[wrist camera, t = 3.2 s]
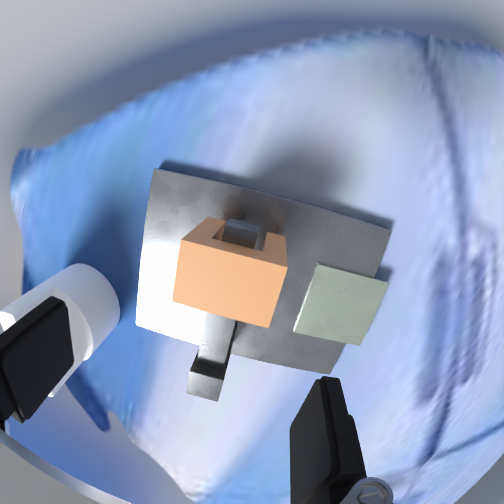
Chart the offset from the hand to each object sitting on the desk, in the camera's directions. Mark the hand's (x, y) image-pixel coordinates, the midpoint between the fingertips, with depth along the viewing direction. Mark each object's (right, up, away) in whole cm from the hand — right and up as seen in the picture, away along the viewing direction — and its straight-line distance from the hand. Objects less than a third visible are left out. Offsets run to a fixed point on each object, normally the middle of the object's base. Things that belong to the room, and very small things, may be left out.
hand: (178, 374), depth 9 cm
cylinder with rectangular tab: (-16, -1, +20) cm, 26 cm away
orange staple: (+2, +4, +13) cm, 14 cm away
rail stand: (+3, +1, +17) cm, 18 cm away
